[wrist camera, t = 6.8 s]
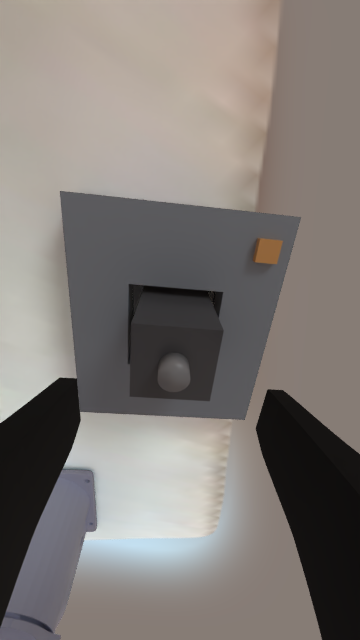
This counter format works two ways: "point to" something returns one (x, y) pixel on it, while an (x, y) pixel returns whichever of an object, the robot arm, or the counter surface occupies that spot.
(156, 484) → the counter surface
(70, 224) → the plate
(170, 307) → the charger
